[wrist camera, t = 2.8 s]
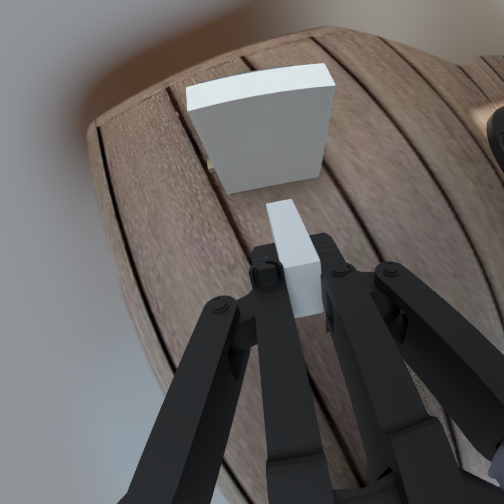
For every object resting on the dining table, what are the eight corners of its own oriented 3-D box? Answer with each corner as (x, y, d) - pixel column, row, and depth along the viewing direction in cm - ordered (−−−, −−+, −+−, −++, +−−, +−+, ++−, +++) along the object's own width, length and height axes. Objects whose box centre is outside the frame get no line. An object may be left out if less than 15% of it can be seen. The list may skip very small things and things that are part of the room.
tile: (318, 177, 30) (335, 85, 16) (227, 194, 31) (187, 111, 17) (312, 157, 31) (323, 62, 17) (224, 173, 31) (186, 86, 18)
